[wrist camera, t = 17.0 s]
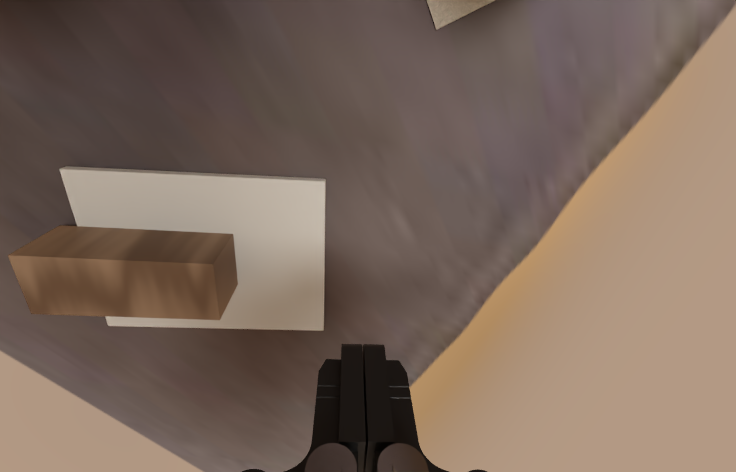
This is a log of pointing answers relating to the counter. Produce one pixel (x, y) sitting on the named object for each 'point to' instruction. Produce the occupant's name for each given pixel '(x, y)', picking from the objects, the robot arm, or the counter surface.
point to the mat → (223, 215)
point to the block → (127, 273)
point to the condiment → (452, 9)
